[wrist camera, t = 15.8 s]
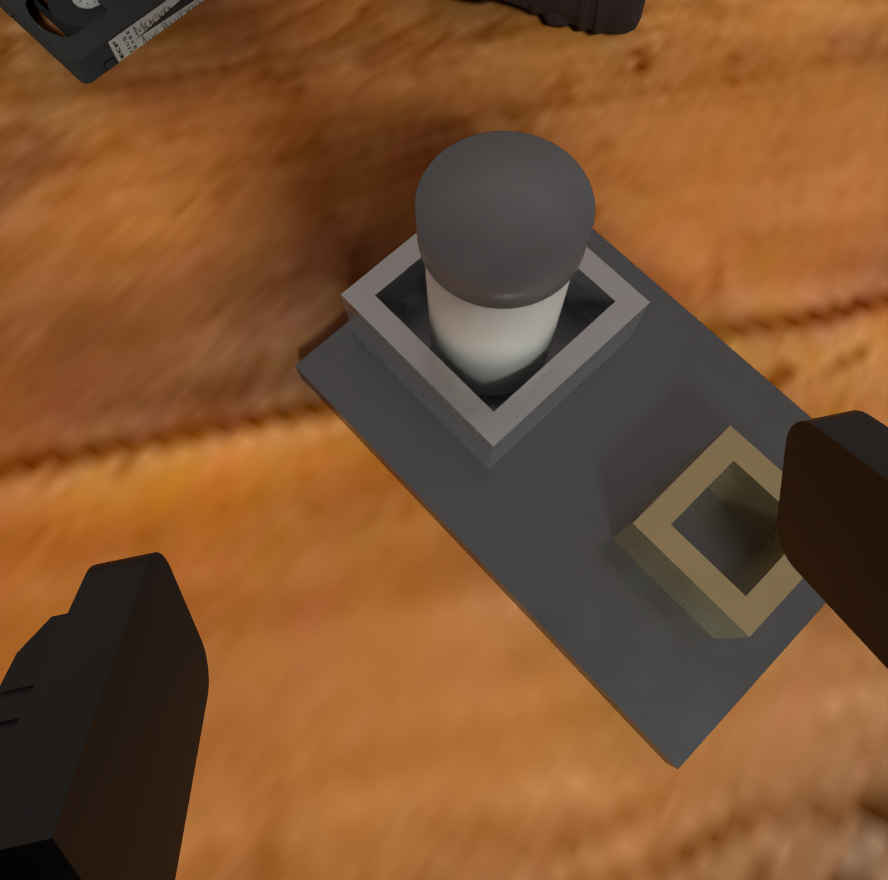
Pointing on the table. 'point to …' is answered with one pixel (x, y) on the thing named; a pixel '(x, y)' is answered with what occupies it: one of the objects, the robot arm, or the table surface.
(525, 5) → the pipe
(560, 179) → the grey and white cylinder
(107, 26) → the vhs tape
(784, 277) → the table surface
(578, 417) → the plate
